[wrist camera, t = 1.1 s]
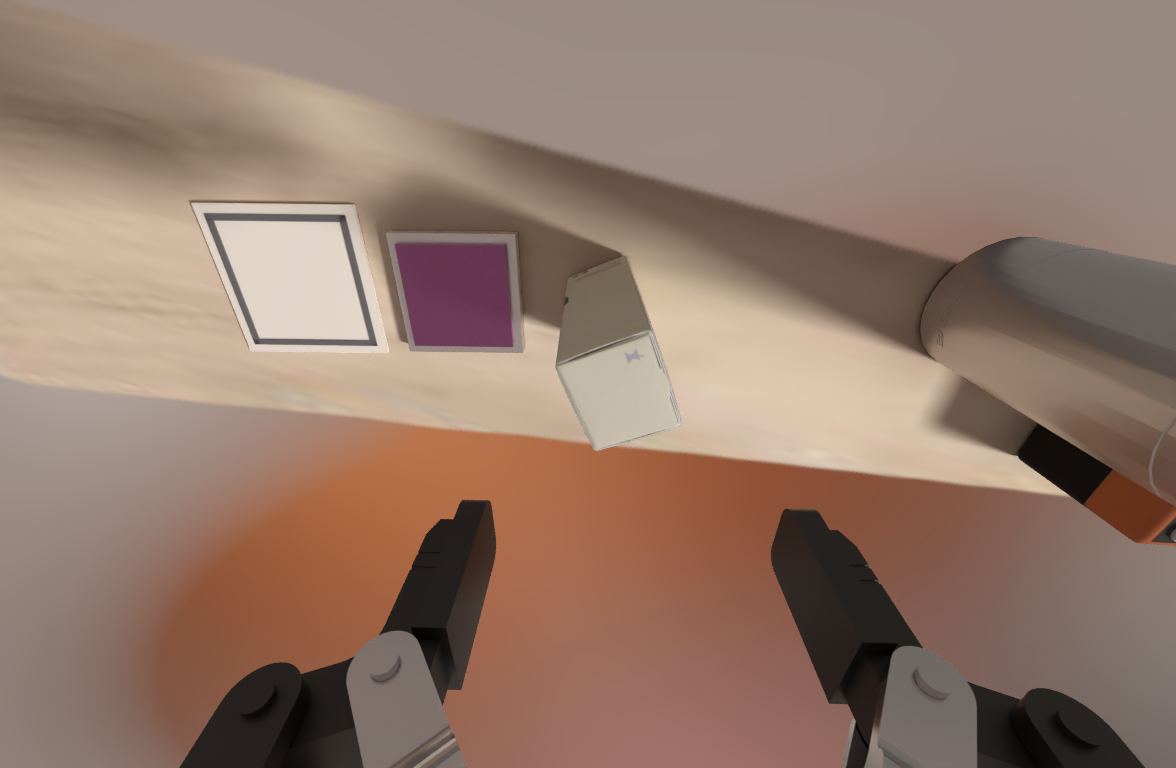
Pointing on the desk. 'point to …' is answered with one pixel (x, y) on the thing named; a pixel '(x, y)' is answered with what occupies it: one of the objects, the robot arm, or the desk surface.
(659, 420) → the box
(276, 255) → the paper
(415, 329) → the ink pad
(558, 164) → the desk surface
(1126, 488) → the battery
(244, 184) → the desk surface
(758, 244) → the desk surface
